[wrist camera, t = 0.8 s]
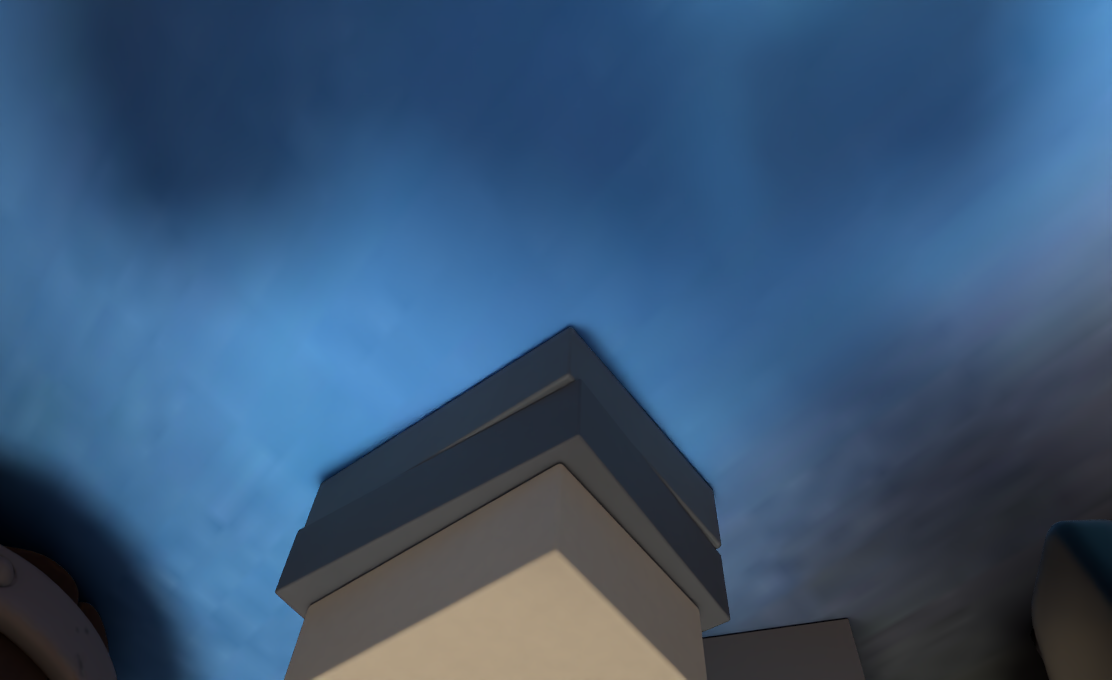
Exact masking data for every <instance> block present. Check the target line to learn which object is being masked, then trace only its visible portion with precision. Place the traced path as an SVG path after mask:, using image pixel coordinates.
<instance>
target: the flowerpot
mask: <svg viewBox="0 0 1112 680" xmlns="http://www.w3.org/2000/svg"><path fill="white" fill-rule="evenodd" d="M78 599H79V592H78V588H77V585H76V583H75V581H74V580H73V578H72V577H71V576H70V575H69V573H68V572H67V571H66V570H65V569H64V568H63V567H61V566H60V565H59V564H58V563H56V562H55V561H53V560H52V559H50V558H48V557H46V556H44V555H42V554H39V553H36V552H33V551H30V550H25V549H21V548H15V547H9V546H2V545H1V544H0V680H117V676H116V672H115V669H114V666H113V663H112V660H111V658H110V656H109V648H108V640H107V636H106V632H105V628H104V625H103V623H102V620H101V618H100V616H99V614H98V612H97V611H96V609H95V608H94V607H93V606H92V605H90V604H89V603H86V602H78Z"/></svg>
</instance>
